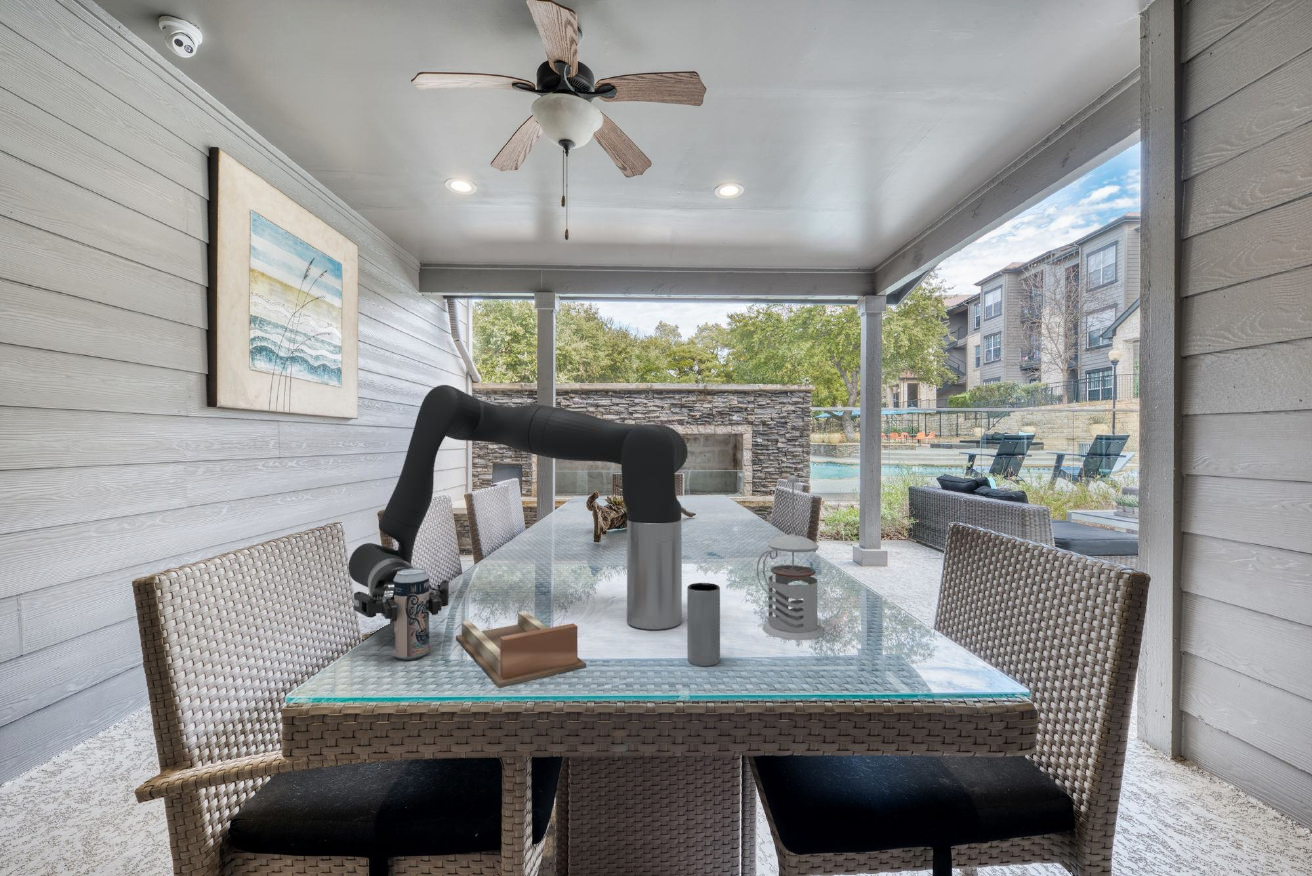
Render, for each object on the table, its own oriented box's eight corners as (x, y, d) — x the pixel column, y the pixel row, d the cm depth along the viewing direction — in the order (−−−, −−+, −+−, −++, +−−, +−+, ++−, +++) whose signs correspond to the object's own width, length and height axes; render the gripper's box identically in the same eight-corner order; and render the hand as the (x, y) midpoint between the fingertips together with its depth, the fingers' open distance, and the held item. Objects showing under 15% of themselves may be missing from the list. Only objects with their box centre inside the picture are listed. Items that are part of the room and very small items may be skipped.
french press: (800, 644, 88) (800, 478, 88) (741, 626, 97) (741, 474, 97) (836, 630, 95) (836, 475, 95) (777, 614, 103) (777, 472, 103)
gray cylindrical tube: (723, 656, 83) (723, 584, 83) (715, 668, 79) (715, 592, 79) (692, 652, 85) (692, 581, 85) (683, 664, 81) (683, 589, 81)
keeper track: (455, 638, 91) (455, 603, 91) (530, 625, 97) (530, 592, 97) (498, 687, 73) (498, 643, 73) (586, 667, 80) (586, 626, 80)
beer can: (416, 662, 81) (416, 576, 81) (386, 660, 82) (385, 574, 82) (436, 650, 86) (436, 568, 86) (407, 647, 87) (407, 566, 87)
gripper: (345, 567, 92) (358, 591, 78) (440, 556, 100) (467, 577, 85) (345, 614, 92) (358, 648, 78) (440, 600, 100) (468, 628, 86)
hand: (415, 610), depth 82 cm, fingers closed on beer can, 4 cm apart
